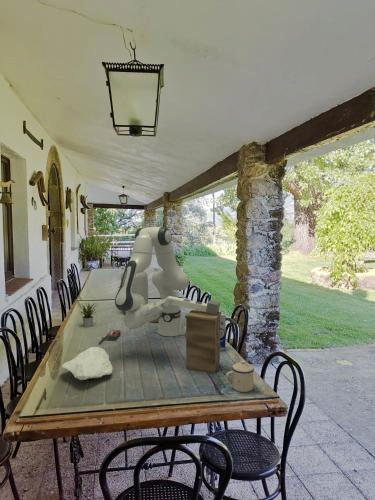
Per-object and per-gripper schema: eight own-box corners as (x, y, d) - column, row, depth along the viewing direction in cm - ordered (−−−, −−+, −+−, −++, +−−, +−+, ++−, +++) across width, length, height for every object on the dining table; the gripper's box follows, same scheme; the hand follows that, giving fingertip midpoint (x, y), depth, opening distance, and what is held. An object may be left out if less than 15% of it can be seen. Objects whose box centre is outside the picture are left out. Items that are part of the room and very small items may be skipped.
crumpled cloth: (50, 388, 153) (53, 367, 152) (70, 355, 188) (72, 338, 187) (107, 394, 155) (110, 373, 154) (116, 361, 190) (119, 344, 189)
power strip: (169, 301, 187) (170, 291, 187) (218, 311, 180) (220, 302, 180) (165, 303, 182) (166, 294, 181) (216, 315, 175) (217, 304, 174)
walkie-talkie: (107, 334, 228) (97, 345, 208) (107, 327, 228) (97, 337, 208) (121, 334, 227) (112, 345, 208) (121, 327, 227) (112, 338, 207)
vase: (118, 311, 282) (117, 267, 279) (143, 308, 290) (143, 266, 287) (125, 317, 263) (124, 271, 260) (151, 314, 272) (151, 269, 269)
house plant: (104, 323, 250) (103, 299, 248) (97, 329, 236) (96, 304, 235) (83, 322, 251) (83, 299, 250) (75, 328, 238) (75, 304, 236)
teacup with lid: (250, 382, 162) (250, 356, 161) (256, 392, 153) (256, 364, 152) (223, 383, 160) (223, 357, 159) (228, 393, 151) (228, 366, 150)
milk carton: (213, 351, 198) (213, 315, 196) (209, 347, 204) (209, 312, 202) (225, 350, 200) (226, 314, 198) (221, 346, 206) (221, 311, 204)
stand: (191, 359, 187) (192, 309, 184) (220, 363, 182) (221, 312, 180) (184, 369, 175) (184, 315, 173) (215, 373, 171) (216, 318, 168)
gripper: (140, 310, 178) (163, 298, 174) (156, 301, 197) (177, 290, 193) (146, 322, 178) (169, 310, 173) (161, 311, 197) (183, 300, 193)
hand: (173, 299), depth 183 cm, fingers closed on power strip, 4 cm apart
